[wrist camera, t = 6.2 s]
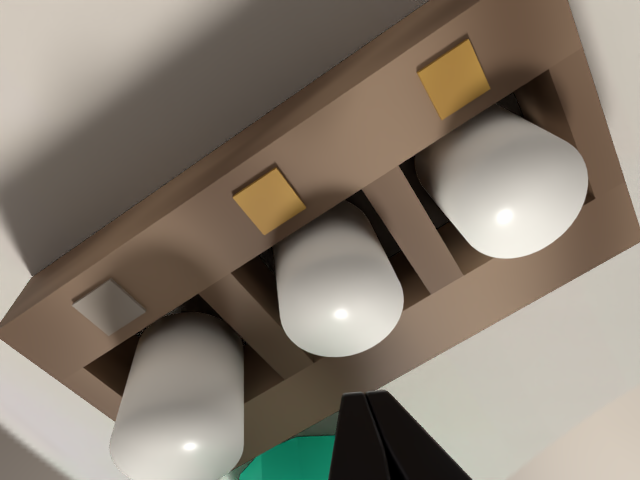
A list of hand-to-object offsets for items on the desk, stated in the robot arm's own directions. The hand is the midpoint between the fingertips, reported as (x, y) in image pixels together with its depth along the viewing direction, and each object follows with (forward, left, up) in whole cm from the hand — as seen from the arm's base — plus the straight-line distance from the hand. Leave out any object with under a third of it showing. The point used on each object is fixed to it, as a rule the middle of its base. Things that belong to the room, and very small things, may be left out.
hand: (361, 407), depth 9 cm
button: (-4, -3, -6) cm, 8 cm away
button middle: (0, 0, -6) cm, 6 cm away
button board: (0, 0, -7) cm, 7 cm away
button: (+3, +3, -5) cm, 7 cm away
